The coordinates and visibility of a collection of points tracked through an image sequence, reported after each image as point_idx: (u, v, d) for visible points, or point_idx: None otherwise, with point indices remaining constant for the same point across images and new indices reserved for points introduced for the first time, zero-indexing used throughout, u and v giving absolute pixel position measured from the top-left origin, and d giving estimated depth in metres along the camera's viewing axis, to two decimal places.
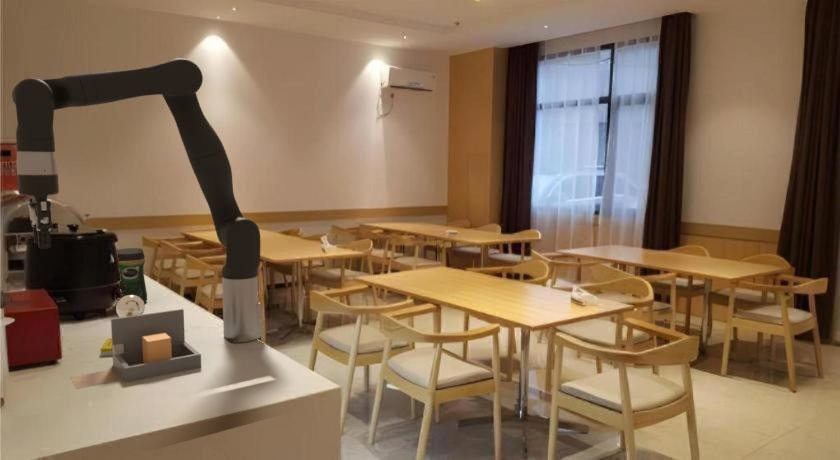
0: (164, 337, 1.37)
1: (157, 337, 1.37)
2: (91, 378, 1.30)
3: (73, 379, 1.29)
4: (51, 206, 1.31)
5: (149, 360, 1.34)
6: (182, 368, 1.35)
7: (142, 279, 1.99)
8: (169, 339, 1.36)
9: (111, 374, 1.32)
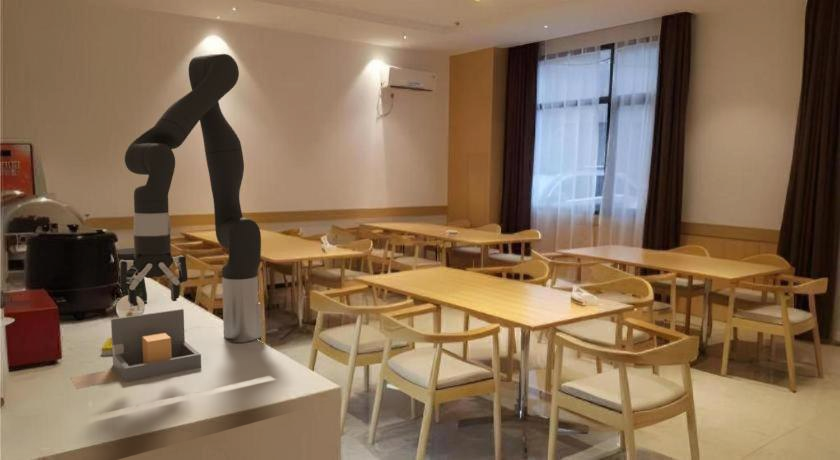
0: (164, 337, 1.37)
1: (157, 337, 1.37)
2: (91, 378, 1.30)
3: (73, 379, 1.29)
4: None
5: (149, 360, 1.34)
6: (182, 368, 1.35)
7: (142, 279, 1.99)
8: (169, 339, 1.36)
9: (111, 374, 1.32)
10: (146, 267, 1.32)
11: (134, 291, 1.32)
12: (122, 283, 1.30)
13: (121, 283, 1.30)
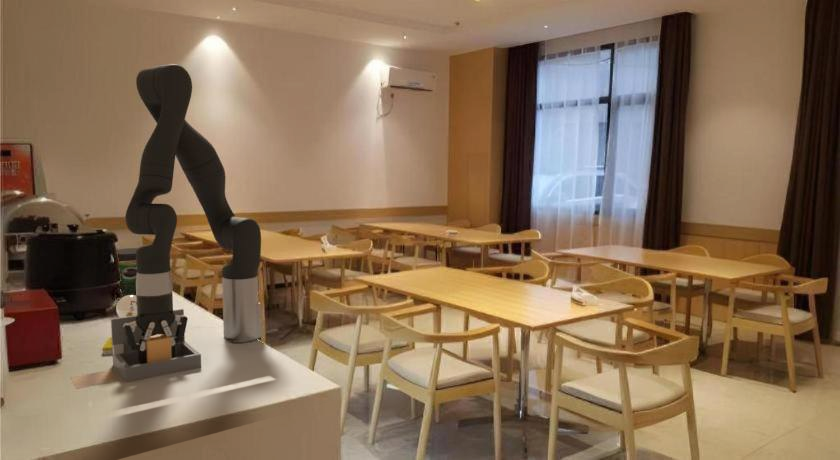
0: (164, 337, 1.37)
1: (157, 337, 1.37)
2: (91, 378, 1.30)
3: (73, 379, 1.29)
4: None
5: (149, 360, 1.34)
6: (182, 368, 1.35)
7: None
8: (169, 339, 1.36)
9: (111, 374, 1.32)
10: (149, 326, 1.34)
11: (144, 352, 1.35)
12: (133, 345, 1.33)
13: (131, 346, 1.33)
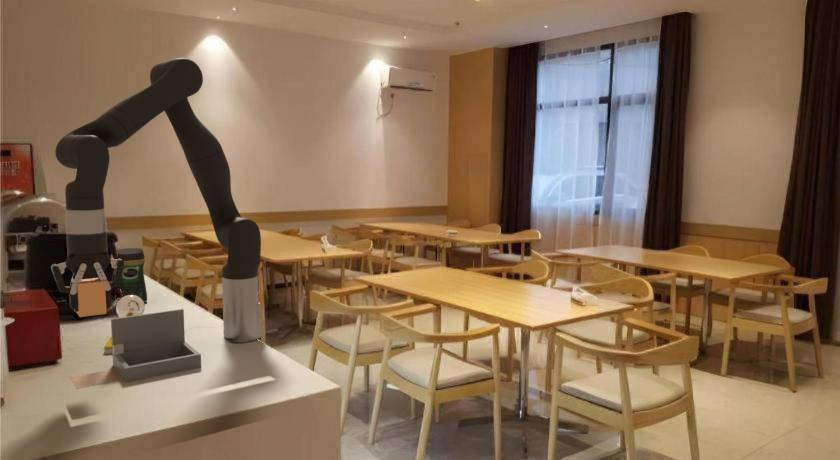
0: (98, 281, 1.27)
1: (90, 280, 1.27)
2: (91, 378, 1.30)
3: (73, 379, 1.29)
4: None
5: (80, 304, 1.24)
6: (182, 368, 1.35)
7: (142, 279, 1.99)
8: (103, 283, 1.27)
9: (111, 374, 1.32)
10: (80, 268, 1.24)
11: (75, 296, 1.25)
12: (62, 288, 1.23)
13: (60, 288, 1.23)
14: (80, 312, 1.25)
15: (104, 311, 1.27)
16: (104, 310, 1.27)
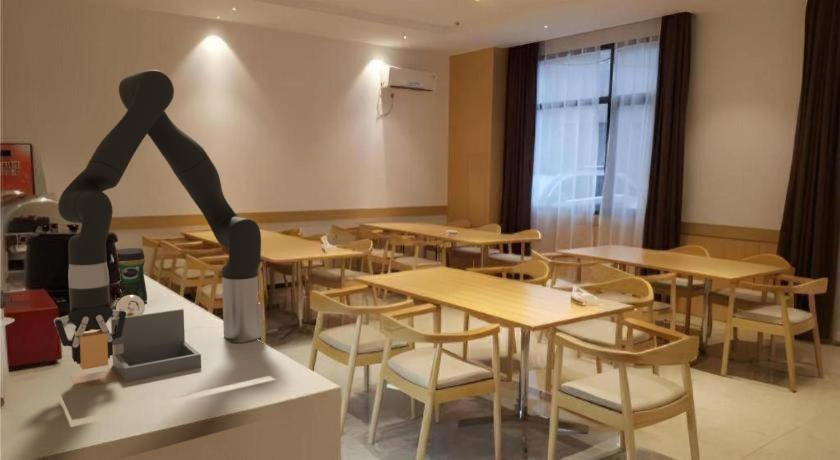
0: (100, 333, 1.28)
1: (92, 332, 1.29)
2: (91, 378, 1.30)
3: (73, 379, 1.29)
4: None
5: (82, 357, 1.26)
6: (182, 368, 1.35)
7: (142, 279, 1.99)
8: (105, 335, 1.28)
9: (111, 374, 1.32)
10: (83, 321, 1.26)
11: (78, 348, 1.26)
12: (64, 341, 1.25)
13: (63, 342, 1.24)
14: (82, 365, 1.26)
15: (106, 363, 1.29)
16: (106, 362, 1.29)
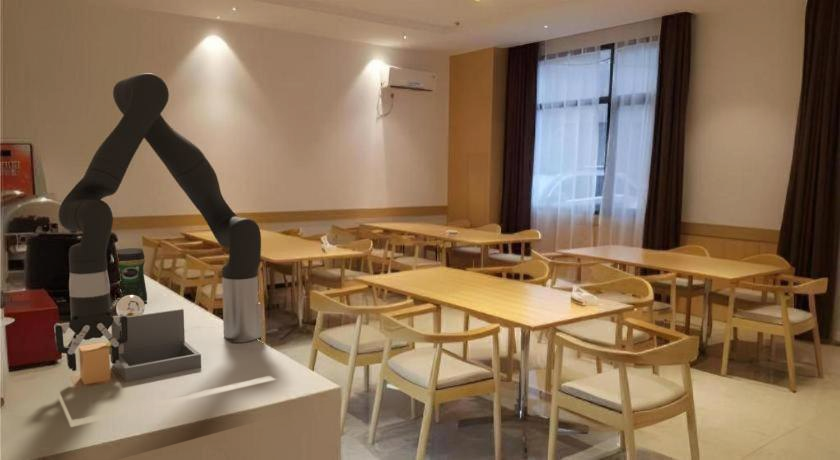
0: (102, 347, 1.29)
1: (94, 347, 1.29)
2: None
3: (73, 379, 1.29)
4: None
5: (84, 372, 1.26)
6: (182, 368, 1.35)
7: (142, 279, 1.99)
8: (107, 349, 1.28)
9: (111, 374, 1.32)
10: (83, 329, 1.26)
11: (73, 355, 1.26)
12: (59, 348, 1.24)
13: (58, 348, 1.24)
14: (84, 379, 1.26)
15: (108, 377, 1.29)
16: (108, 376, 1.29)
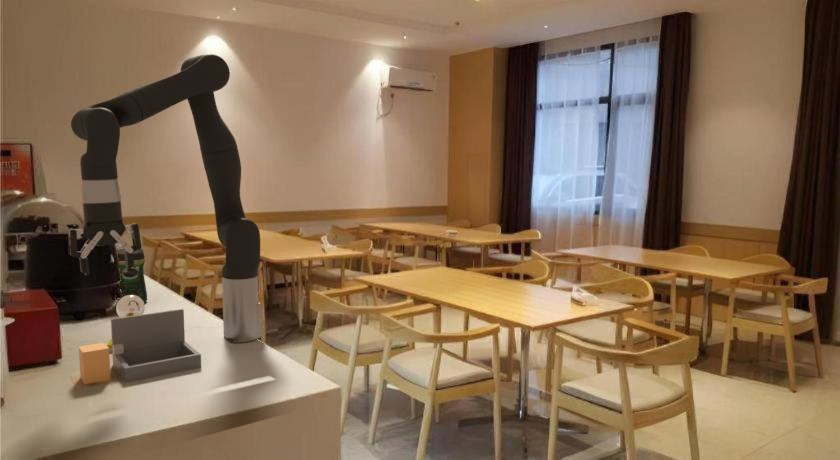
0: (102, 347, 1.29)
1: (94, 347, 1.29)
2: None
3: (73, 379, 1.29)
4: None
5: (84, 372, 1.26)
6: (182, 368, 1.35)
7: (142, 279, 1.99)
8: (107, 349, 1.28)
9: (111, 374, 1.32)
10: (97, 235, 1.30)
11: (86, 260, 1.30)
12: (72, 252, 1.28)
13: (71, 252, 1.28)
14: (84, 379, 1.26)
15: (108, 377, 1.29)
16: (108, 376, 1.29)
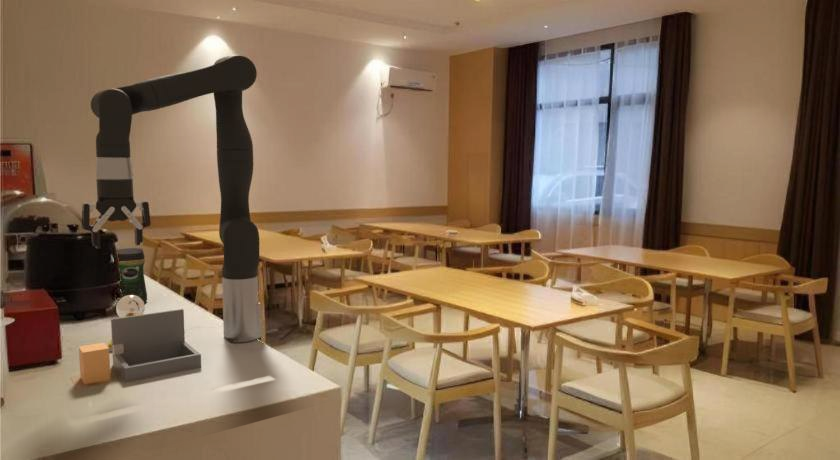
0: (102, 347, 1.29)
1: (94, 347, 1.29)
2: None
3: (73, 379, 1.29)
4: None
5: (84, 372, 1.26)
6: (182, 368, 1.35)
7: (142, 279, 1.99)
8: (107, 349, 1.28)
9: (111, 374, 1.32)
10: (109, 210, 1.36)
11: (97, 233, 1.36)
12: (85, 225, 1.34)
13: (84, 225, 1.34)
14: (84, 379, 1.26)
15: (108, 377, 1.29)
16: (108, 376, 1.29)
